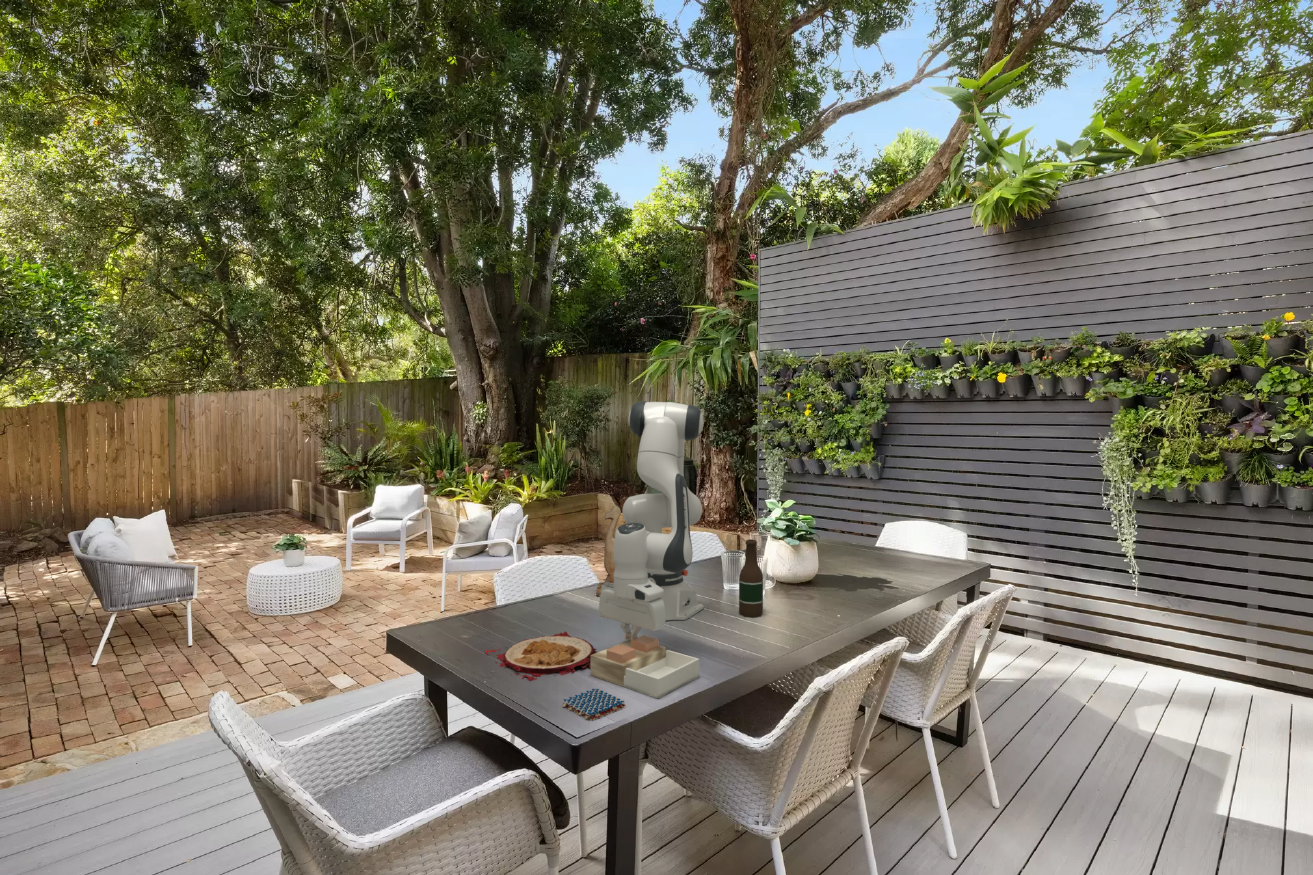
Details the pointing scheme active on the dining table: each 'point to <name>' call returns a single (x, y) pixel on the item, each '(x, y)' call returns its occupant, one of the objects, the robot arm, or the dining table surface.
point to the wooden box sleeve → (617, 670)
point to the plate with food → (547, 655)
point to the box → (663, 675)
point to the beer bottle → (751, 584)
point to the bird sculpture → (610, 546)
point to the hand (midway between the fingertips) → (630, 639)
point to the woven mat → (594, 704)
